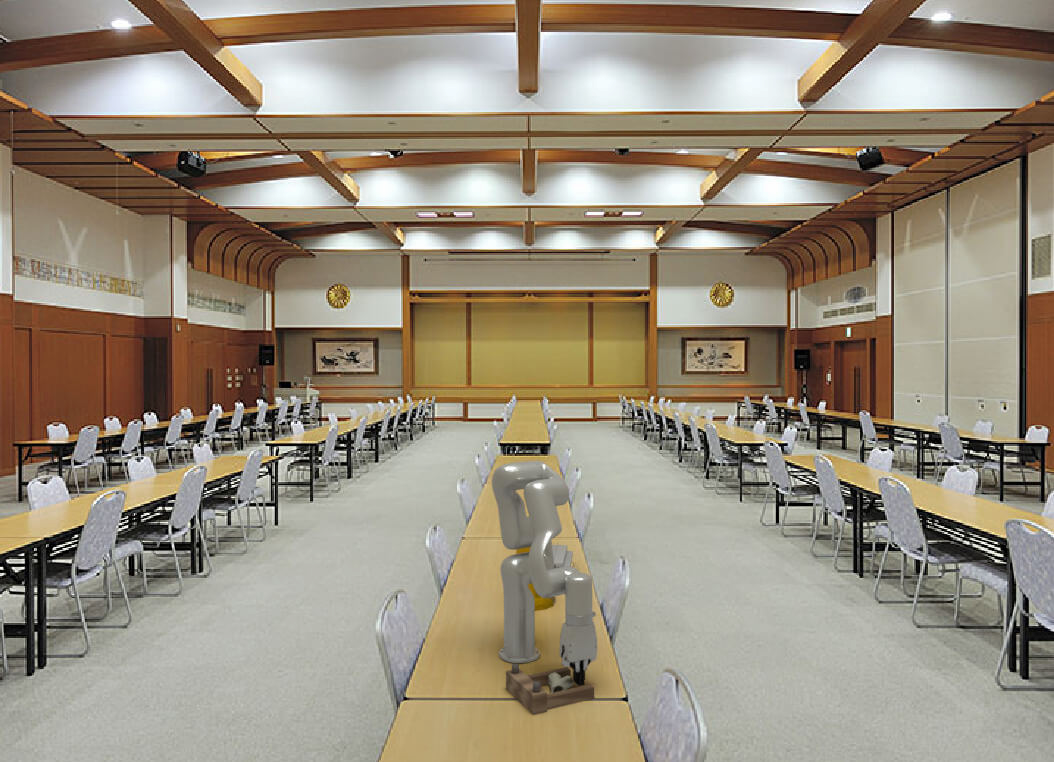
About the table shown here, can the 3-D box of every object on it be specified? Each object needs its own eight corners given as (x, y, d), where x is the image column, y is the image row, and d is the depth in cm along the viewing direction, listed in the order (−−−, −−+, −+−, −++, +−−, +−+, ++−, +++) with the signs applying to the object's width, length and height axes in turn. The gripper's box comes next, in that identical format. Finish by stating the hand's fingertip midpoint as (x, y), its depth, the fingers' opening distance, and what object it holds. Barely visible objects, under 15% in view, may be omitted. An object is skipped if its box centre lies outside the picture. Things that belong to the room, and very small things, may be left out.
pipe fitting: (571, 685, 209) (547, 685, 208) (572, 672, 209) (548, 671, 208) (576, 698, 201) (551, 698, 200) (577, 684, 201) (552, 683, 200)
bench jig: (505, 688, 205) (505, 663, 205) (565, 676, 214) (565, 652, 214) (533, 714, 190) (533, 687, 190) (596, 699, 199) (596, 674, 198)
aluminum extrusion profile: (573, 565, 333) (573, 543, 333) (569, 585, 303) (569, 561, 303) (541, 564, 335) (541, 542, 335) (534, 584, 304) (534, 560, 304)
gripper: (594, 610, 212) (594, 673, 212) (548, 618, 205) (549, 684, 206) (608, 618, 205) (609, 683, 206) (562, 627, 199) (562, 694, 199)
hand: (579, 683), depth 206 cm, fingers closed
